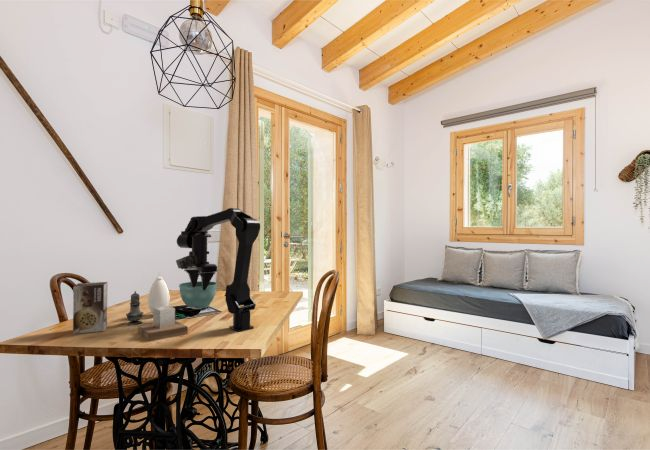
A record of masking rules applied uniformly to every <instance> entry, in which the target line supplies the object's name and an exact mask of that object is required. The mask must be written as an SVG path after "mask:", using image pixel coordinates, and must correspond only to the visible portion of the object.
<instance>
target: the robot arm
mask: <svg viewBox="0 0 650 450" xmlns="http://www.w3.org/2000/svg"><path fill="white" fill-rule="evenodd" d="M227 222H230V224H231V226H232V227H233V228H234V229H235V237H236V239H237V242H238V245H237V252H236V259H235V266H234V267H235V268H234V272H233V273H234V274H233V280H232V282H231V284H227V285H226V287H225V294H224V297H225V302H226V306H227V307H226V308H227V313H231V314H232V325H229V327H228V328H230V329H231V330H234V331H237V332H241V331H245V330H250V329H254V328H255V326H253V325H251V311H253V310H255V309H256V305H257V304H256V302H255V300H254V299H253V298H252V296H251V289H250V287H249V284H248V280H249V271H250V266H251V265H250V264H251V259H252V258H251V257H252V252H253V251H252V250H253V244H254V242H255V241H256V240H257V238H258V237H259V234H260V230H261V223H260V221H259V220H258V219H257V218H253V217H252V216H251V215H249V214H247V213H245V212H244V211H242V210H241V209H240V208H235V207H229V208H226V209H225V210H222V211H218V212H216V213H212V214H209V215H199V216H191V218H190V220H189V222H188V224H187V225H186V227H185V229H184V230H183V231H182V230H181V231H180V233H181V234H179V235H178V237H177V239H176V244H177V246H178V247H179V248H182V249H191V251H189V252H188V255H187V256H186V255H185V256H183V257H182V258H179V259H176V260H175V263H176V265H177V268H178V269H181V270H183V271H184V272H186V273H187V274H188V276H189V280H190V281H189V282H191V284H192V287H195V286H196V284H197V282H198V279H199V277H200V278H201V279H200V281H202V289H203V290H206V288H207V286H208V284H209V282H211V280H212V278H213V277H214V275H216V272H218V265H217V264H216V263H210V262H209V261H208V255H210V251H208V238H212V234H210V233H209V231H211V230H212V229H213V228H214V227H215V226H218V225H221V224H224V223H227Z"/></svg>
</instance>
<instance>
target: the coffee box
mask: <svg viewBox="0 0 650 450" xmlns="http://www.w3.org/2000/svg"><path fill="white" fill-rule="evenodd" d="M72 288H73V290H72V293H73V296H72V298H73V299H72V300H73V301H72V303H73V304H72V305H73V309H72V310H73V311H72V314H73V315H72V316H73V317H72V319H73V320H72V334H74V335H76V334H85V333H97V332H105V330H107V327H108V281H102V282H100V281H99V282H98V281H97V282H82V283H81V282H80V283H79V282H78V283H77V284H75V285H74V286H73V287H72Z"/></svg>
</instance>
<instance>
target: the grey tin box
mask: <svg viewBox="0 0 650 450" xmlns="http://www.w3.org/2000/svg"><path fill="white" fill-rule="evenodd" d="M152 314H153V317H152V318H153V320H152V323H153V326H154V327H157V328H159V329H162V328H167V327H172V326H175V321H176V308H175V307H173V306H170V305H169V306H164V307H158V308H154V311H153V313H152Z"/></svg>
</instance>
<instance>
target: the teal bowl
mask: <svg viewBox="0 0 650 450" xmlns="http://www.w3.org/2000/svg"><path fill="white" fill-rule="evenodd" d="M178 286H179V294H180V297H181V299H182V302H183V303H184V304H185V305H186V307H187V306H190V307H195V308H205V309H208V308H209V307H210V305H211V303H212V302H213V300H214V298H215V296H216V293H217V287H218V283H217V282H215V281H210V282H209V284H208V286H207V288H206V290H203V289H202V281H201V280H200V281H198V280H197V284H196V286H195V287H192V284H191V281H188V282H181V283H179V284H178ZM207 307H208V308H207Z"/></svg>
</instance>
